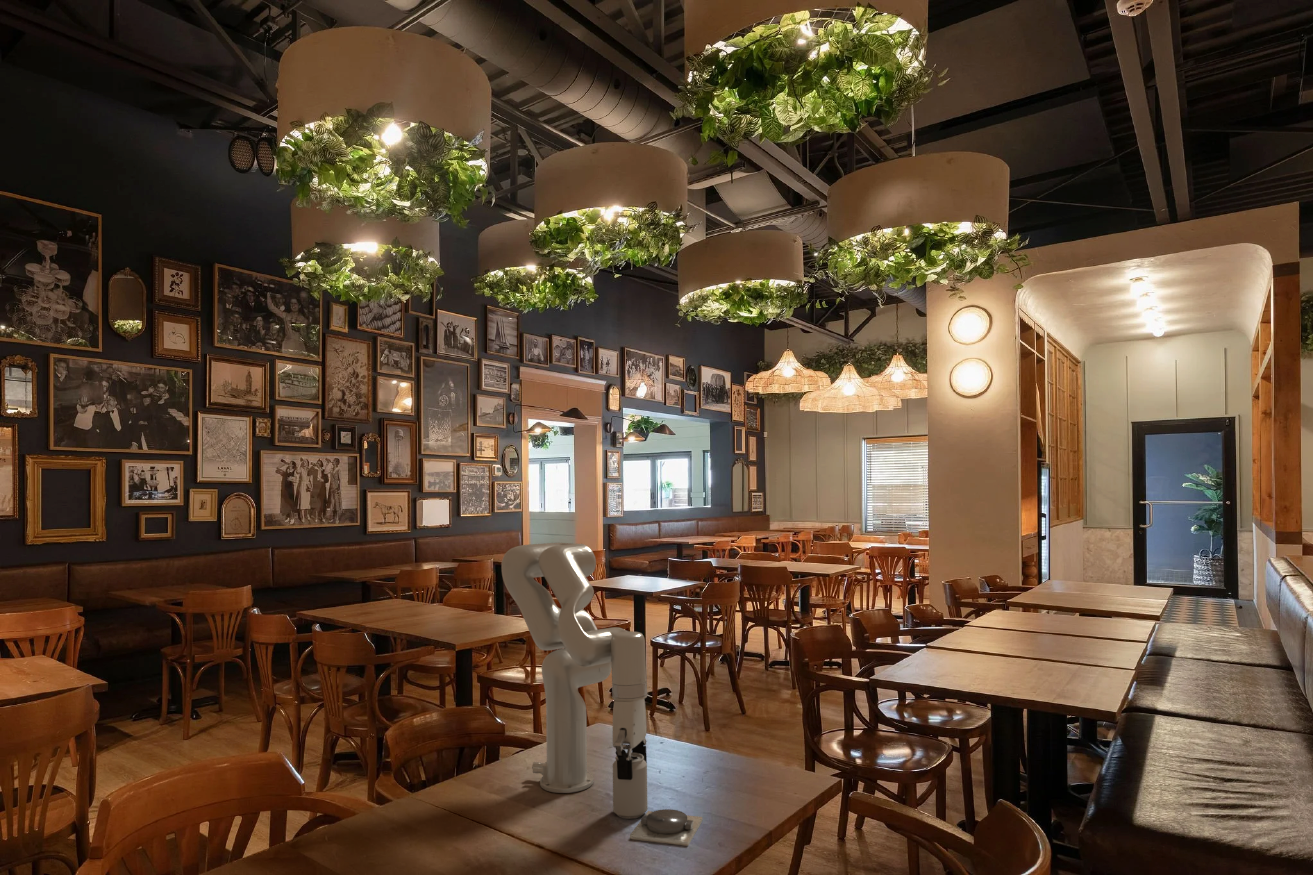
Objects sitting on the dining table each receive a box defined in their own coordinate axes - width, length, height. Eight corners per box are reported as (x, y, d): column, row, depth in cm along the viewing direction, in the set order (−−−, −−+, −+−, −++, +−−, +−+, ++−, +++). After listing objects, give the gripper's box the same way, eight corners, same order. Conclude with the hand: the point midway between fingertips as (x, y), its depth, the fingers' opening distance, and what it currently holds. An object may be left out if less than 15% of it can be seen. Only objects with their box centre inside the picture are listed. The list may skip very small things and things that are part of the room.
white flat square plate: (630, 838, 158) (629, 826, 158) (648, 814, 169) (647, 803, 169) (688, 846, 154) (687, 833, 154) (702, 820, 166) (702, 809, 166)
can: (653, 809, 172) (652, 752, 173) (638, 822, 165) (637, 764, 166) (622, 803, 175) (622, 748, 176) (606, 816, 168) (606, 759, 169)
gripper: (626, 681, 181) (629, 757, 179) (599, 699, 164) (602, 784, 163) (657, 681, 179) (660, 759, 177) (633, 700, 162) (636, 786, 161)
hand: (632, 771), depth 170 cm, fingers open, 9 cm apart
